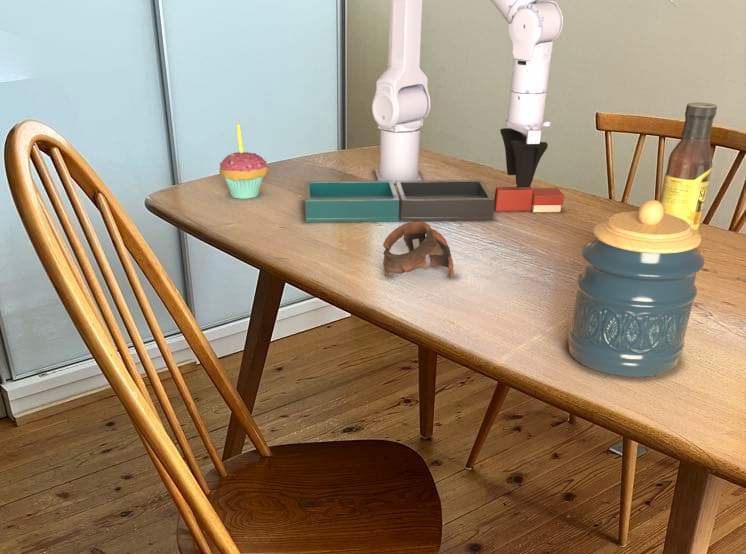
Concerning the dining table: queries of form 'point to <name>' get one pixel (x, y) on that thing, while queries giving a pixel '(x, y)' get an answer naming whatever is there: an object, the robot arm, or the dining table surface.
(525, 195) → the brush
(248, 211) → the dining table surface
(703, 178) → the sauce bottle
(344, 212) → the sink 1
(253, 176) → the cupcake
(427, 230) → the brown openwork arch
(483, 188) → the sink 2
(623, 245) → the canister
